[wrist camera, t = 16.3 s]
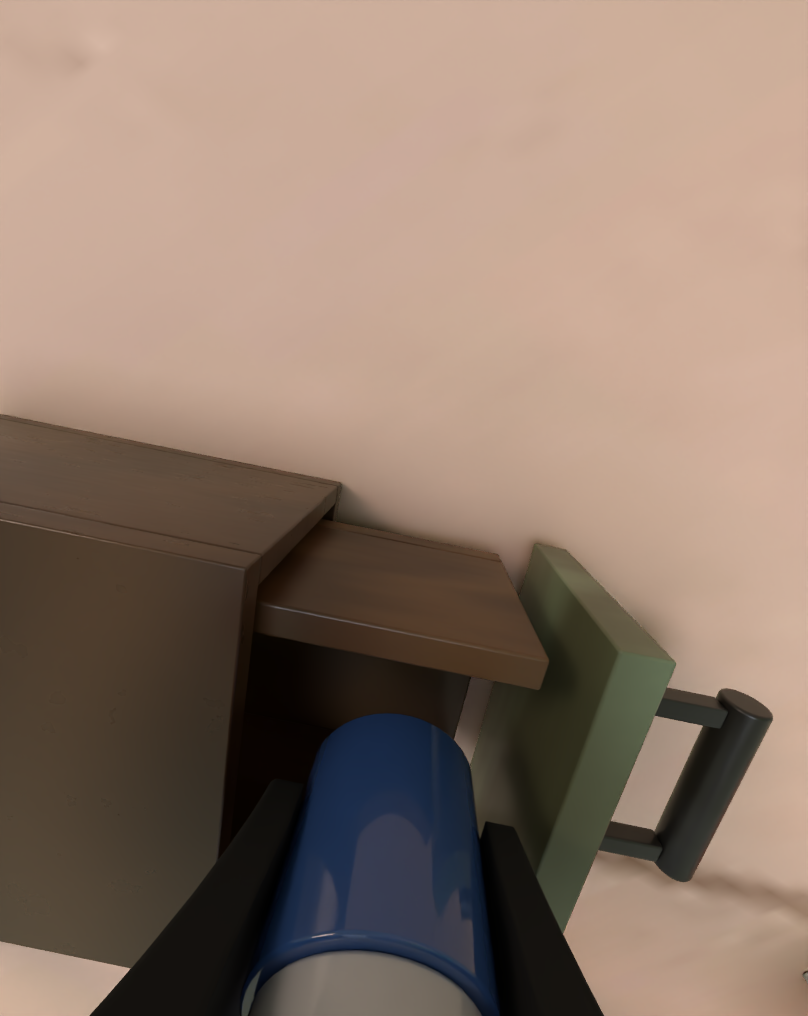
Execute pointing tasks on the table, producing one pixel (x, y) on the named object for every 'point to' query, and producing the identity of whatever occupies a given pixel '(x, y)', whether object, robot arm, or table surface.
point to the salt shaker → (379, 885)
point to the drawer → (513, 701)
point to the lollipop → (806, 976)
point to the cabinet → (125, 674)
